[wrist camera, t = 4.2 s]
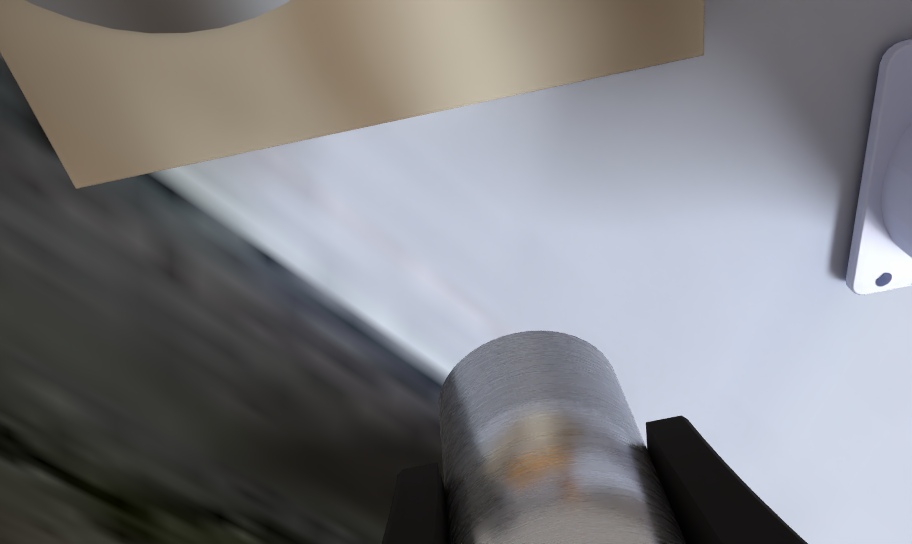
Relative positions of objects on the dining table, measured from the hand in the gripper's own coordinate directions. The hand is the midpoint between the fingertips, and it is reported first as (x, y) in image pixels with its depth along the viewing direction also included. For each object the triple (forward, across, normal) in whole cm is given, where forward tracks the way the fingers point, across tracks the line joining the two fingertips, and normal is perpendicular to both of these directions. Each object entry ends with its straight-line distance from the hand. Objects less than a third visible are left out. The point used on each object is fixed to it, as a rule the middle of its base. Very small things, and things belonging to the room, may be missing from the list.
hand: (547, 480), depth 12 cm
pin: (+2, 0, 0) cm, 2 cm away
